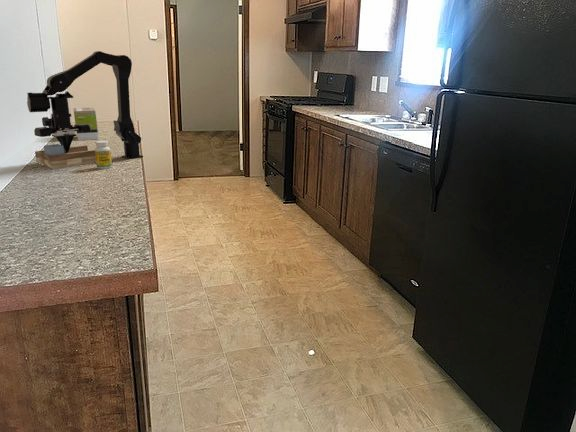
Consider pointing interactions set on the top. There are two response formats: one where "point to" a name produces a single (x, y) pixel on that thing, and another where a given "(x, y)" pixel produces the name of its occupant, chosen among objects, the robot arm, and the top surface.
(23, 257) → the top surface
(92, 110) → the tea box
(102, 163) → the supplement bottle
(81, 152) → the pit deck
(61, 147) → the block
